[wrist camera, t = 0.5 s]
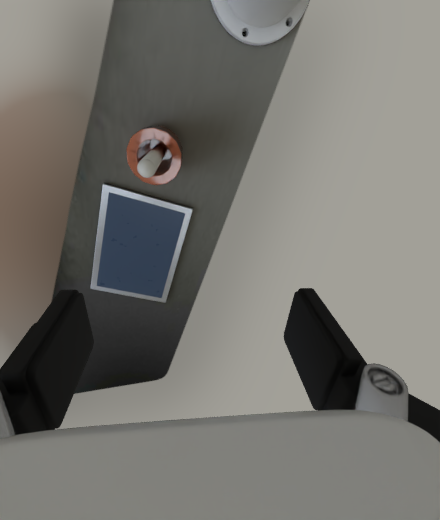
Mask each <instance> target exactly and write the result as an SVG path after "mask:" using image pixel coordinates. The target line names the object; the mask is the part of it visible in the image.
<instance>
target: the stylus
mask: <svg viewBox="0 0 440 520" xmlns="http://www.w3.org/2000/svg"><path fill="white" fill-rule="evenodd" d="M164 156H165V149H164V148H163V147H162V146H160V145H157V146H155V147H154V148H153V149H152V150H151V151H150V152H149V153H148V154H147V155H146V156H144V157H143V158H142V159H141V160H140V161H139V163H138V165H137V170H138V172H139V174H140V175H141V176H143V177H145V178H149V177H152V176H153V175H154V174H155V172H156V170H157V169H158V167H159V165H160V163H161V161H162V160H163V158H164Z"/></svg>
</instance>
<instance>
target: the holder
mask: <svg viewBox="0 0 440 520" xmlns="http://www.w3.org/2000/svg"><path fill="white" fill-rule="evenodd" d="M157 145H160V146H162V147H163V148H164V149H165V156H164V158H163V160H162V161H161V163H160V165H159V167H158V169H157V170H156V172H155V174H154V175H153V176H152V177H149V178H145V177H143V176H141V175H140V174H139V172H138V170H137V165H138V163H139V161H140V160H141V159H142V158H143V157H144V156H146V155H147V154H148V153H149V152H150V151H151V150H152V149H153V148H154V147H155V146H157ZM127 161H128V164H129V166H130V168H131V170H132V172H133V173H134V174H135V175H136V176H137V177H138V178H139V179H141V180H142V181H143V182H146V183H149V184H153V185H160V184H166V183H168V182H170V181H171V180H172V179H174V178H175V177H176V176H177V174H178V172H179V170H180V168H181V164H182V146H181V143H180V140H179V138H178V137H177V136H176V134H175V133H174V132H172V131H171V130H170V129H168V128H166V127H163V126H159V125H158V126H151V127H147V128H144V129H141V130H140V131H138V132H137V133H136V134H135V135H133V136H132V137H131V139H130V142H129V144H128V146H127Z"/></svg>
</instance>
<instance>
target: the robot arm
mask: <svg viewBox="0 0 440 520" xmlns="http://www.w3.org/2000/svg"><path fill="white" fill-rule="evenodd" d="M309 1H310V0H211V3H212V6H213V9H214V12H215V14H216V15H217V17H218V19H219V21H220V23H221V24H222V25H223V27H224V28H225V29H226V31H227V32H228V33H229V34H231V35H232V36H233V37H234V38H235V39H237V40H239V41H241V42H243V43H245V44H249V45H252V46H263V45H267V44H271V43H273V42H275V41H277V40H279V39H281V38H282V37H283V36H285V35H286V34H287V33H288V32H290V31H291V30H292V29H293V28H294V27H295V25H296V24H297V23H298V21H299V20H300V19H301V17H302V15H303V14H304V12H305V10H306V8H307V6H308V4H309ZM286 22H288V24H289V25H288V26H286ZM242 32H245V33H246V36H243V35H242ZM284 340H285V343H286V345H287V348H288V350H289V352H290V355H291V357H292V359H293V362H294V364H295V366H296V369H297V371H298V373H299V376H300V378H301V380H302V382H303V385H304V387H305V390H306V392H307V394H308V397H309V399H310V401H311V404H312V406H313V408H314V409H315V410H318V411H301V412H300V411H299V412H284V413H269V414H253V415H238V416H224V417H210V418H196V419H181V420H167V421H154V422H141V423H128V424H115V425H102V426H89V427H79V428H68V429H57V430H55V428H59V427H60V425H61V423H62V421H63V419H64V416H65V414H66V411H67V409H68V407H69V404H70V402H71V399H72V397H73V394H74V392H75V389H76V387H77V385H78V382H79V380H80V377H81V375H82V372H83V370H84V367H85V365H86V363H87V360H88V358H89V355H90V353H91V350H92V348H93V343H94V340H93V335H92V331H91V327H90V322H89V318H88V314H87V310H86V305H85V301H84V297H83V294H82V293H79V292H78V291H77V290H61V291H60V292H59V293H58V294H57V296H56V297H55V298H54V300H53V301H52V303H51V304H50V305H49V307H48V308H47V309H46V311H45V312H44V314H43V315H42V316H41V318H40V319H39V320H38V322H37V323H35V324H34V325H33V326H32V327H31V328H30V329H29V331H28V332H27V333H26V335H25V336H24V338H23V339H22V340H21V342H20V343H19V344H18V346H17V347H16V348H15V350H14V351H13V352H12V354H11V355H10V357H9V358H8V359H7V361H6V362H5V363H4V365H3V366H2V367H1V369H0V520H440V410H438V409H436V408H435V407H433V406H431V405H429V404H427V403H425V402H423V401H421V400H420V399H418V398H416V397H414V396H412V395H410V394H409V393H408V388H407V385H406V384H405V382H404V380H403V379H402V378H401V377H400V376H399V375H398V374H397V373H395V372H394V371H393V370H391V369H389V368H388V367H385V366H383V365H380V364H367V363H366V362H365V360H364V359H363V358H362V356H361V355H360V353H359V352H358V350H357V349H356V348H355V346H354V345H353V343H352V342H351V341H350V339H349V338H348V337H347V335H346V334H345V332H344V331H343V330H342V328H341V327H340V326H339V324H338V323H337V321H336V320H335V318H334V317H333V316H332V314H331V313H330V311H329V310H328V309H327V307H326V306H325V304H324V303H323V302H322V300H321V299H320V298H319V296H318V295H317V293H316V292H315V291H314V289H312V288H301V289H299V290H298V292H295V294H294V298H293V302H292V306H291V309H290V313H289V317H288V320H287V325H286V328H285V332H284Z"/></svg>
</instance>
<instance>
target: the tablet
mask: <svg viewBox="0 0 440 520" xmlns="http://www.w3.org/2000/svg"><path fill="white" fill-rule="evenodd" d="M192 211H193V208H191V207H187V206H184V205H180V204H177V203H173V202H170V201H166V200H163V199H159V198H156V197H152V196H149V195H145V194H142V193H138V192H135V191H132V190H128V189H125V188H121V187H118V186H114V185H111V184H107V183H104V184H103V188H102V197H101V205H100V213H99V222H98V230H97V238H96V247H95V255H94V263H93V272H92V280H91V289H95V290H101V291H106V292H111V293H117V294H122V295H127V296H133V297H138V298H143V299H149V300H154V301H159V302H165V303H166V300H167V296H168V293H169V289H170V286H171V282H172V279H173V276H174V272H175V269H176V265H177V262H178V259H179V255H180V252H181V248H182V245H183V242H184V238H185V235H186V231H187V228H188V224H189V221H190V218H191V214H192Z"/></svg>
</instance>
